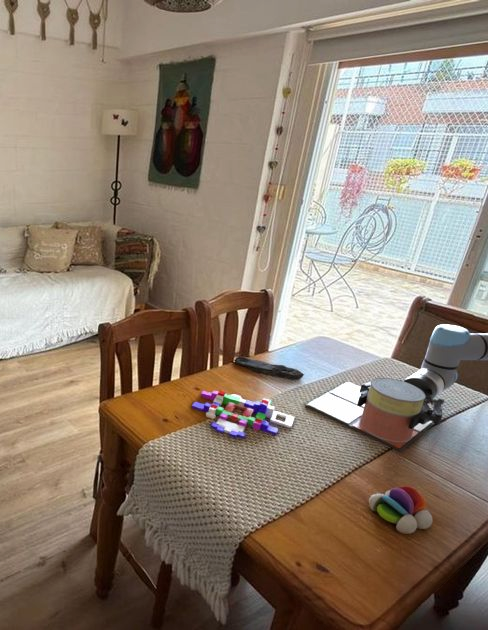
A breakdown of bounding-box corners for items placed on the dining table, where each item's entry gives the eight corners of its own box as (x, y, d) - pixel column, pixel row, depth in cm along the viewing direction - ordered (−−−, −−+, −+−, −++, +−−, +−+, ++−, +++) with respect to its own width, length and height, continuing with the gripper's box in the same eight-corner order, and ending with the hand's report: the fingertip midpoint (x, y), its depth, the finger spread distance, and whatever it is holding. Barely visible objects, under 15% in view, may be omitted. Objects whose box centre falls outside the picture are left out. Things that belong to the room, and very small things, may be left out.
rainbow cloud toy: (436, 529, 86) (448, 500, 83) (398, 541, 84) (409, 512, 81) (395, 498, 94) (404, 471, 91) (359, 508, 91) (368, 480, 88)
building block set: (182, 420, 120) (184, 406, 118) (206, 388, 135) (208, 375, 134) (281, 455, 106) (284, 440, 105) (295, 415, 122) (298, 401, 121)
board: (438, 421, 120) (439, 418, 119) (399, 453, 107) (401, 449, 107) (346, 384, 138) (347, 380, 138) (304, 407, 126) (305, 404, 125)
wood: (228, 367, 148) (229, 359, 147) (234, 358, 154) (235, 351, 153) (300, 386, 137) (302, 378, 136) (304, 376, 142) (305, 368, 141)
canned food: (422, 436, 111) (436, 396, 107) (391, 446, 108) (404, 404, 103) (379, 412, 121) (390, 374, 117) (349, 421, 118) (360, 382, 113)
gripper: (469, 419, 114) (435, 449, 102) (371, 381, 132) (333, 403, 120) (479, 394, 111) (446, 422, 100) (378, 359, 129) (339, 379, 118)
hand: (384, 412), depth 110 cm, fingers closed on canned food, 11 cm apart
